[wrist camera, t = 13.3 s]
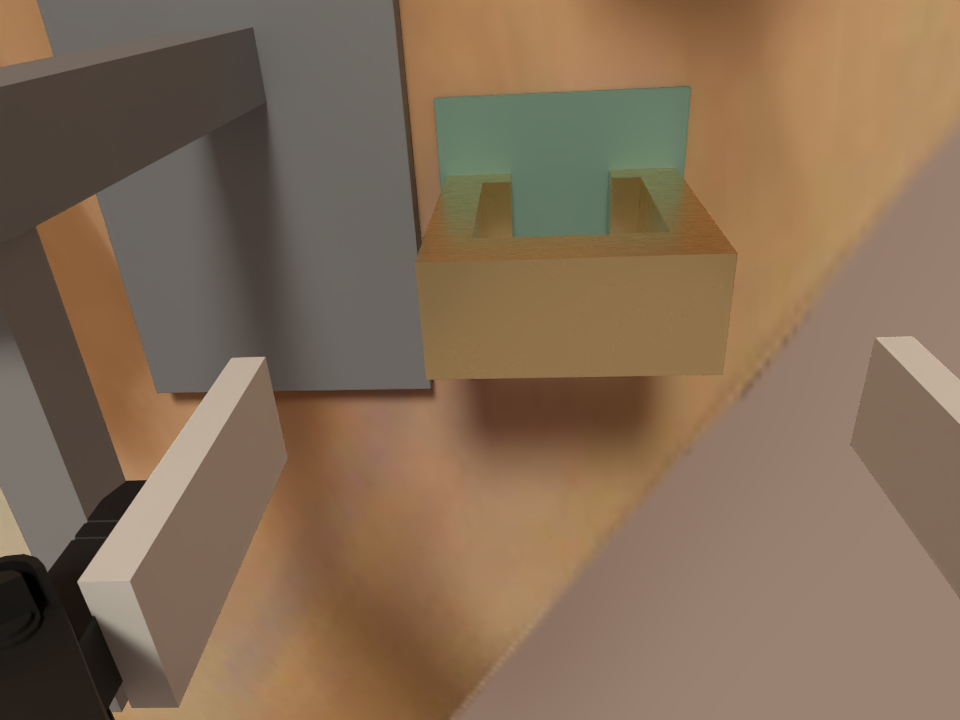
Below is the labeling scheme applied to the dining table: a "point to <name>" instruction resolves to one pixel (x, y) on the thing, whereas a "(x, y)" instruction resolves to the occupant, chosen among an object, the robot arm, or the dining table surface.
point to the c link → (575, 285)
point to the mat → (562, 148)
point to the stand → (203, 217)
